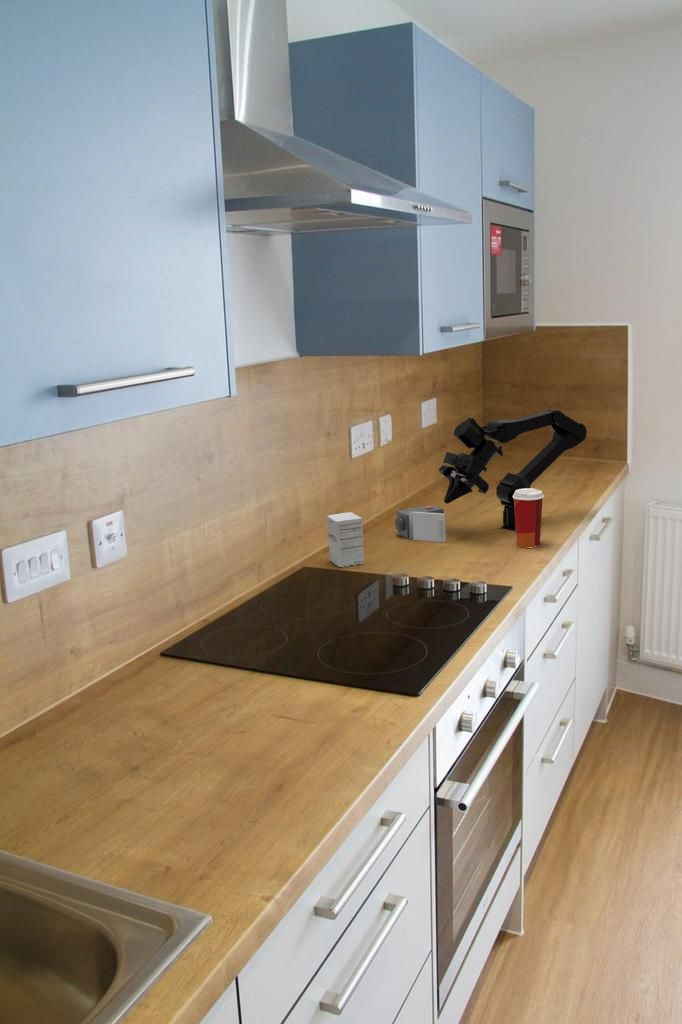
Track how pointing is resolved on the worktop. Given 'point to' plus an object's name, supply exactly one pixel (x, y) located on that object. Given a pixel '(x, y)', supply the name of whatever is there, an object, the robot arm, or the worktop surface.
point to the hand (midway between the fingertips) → (445, 502)
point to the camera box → (403, 518)
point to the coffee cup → (528, 516)
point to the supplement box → (345, 539)
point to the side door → (427, 526)
